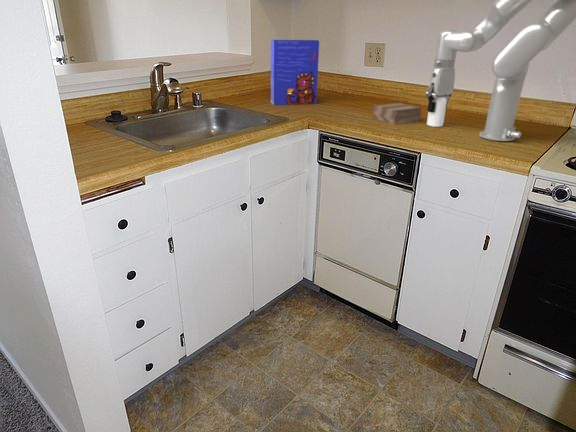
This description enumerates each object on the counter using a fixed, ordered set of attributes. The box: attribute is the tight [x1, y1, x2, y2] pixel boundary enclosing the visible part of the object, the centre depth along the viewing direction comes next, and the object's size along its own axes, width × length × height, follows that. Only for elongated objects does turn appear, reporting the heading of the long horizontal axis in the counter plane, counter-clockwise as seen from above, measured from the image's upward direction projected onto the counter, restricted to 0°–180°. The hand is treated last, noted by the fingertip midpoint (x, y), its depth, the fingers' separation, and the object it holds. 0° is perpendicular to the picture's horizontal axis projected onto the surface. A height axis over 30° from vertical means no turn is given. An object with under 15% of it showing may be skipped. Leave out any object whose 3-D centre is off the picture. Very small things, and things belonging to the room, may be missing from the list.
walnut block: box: [372, 102, 422, 126], centre depth 187 cm, size 14×14×6 cm
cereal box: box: [270, 39, 320, 106], centre depth 210 cm, size 22×6×30 cm, turn 105°
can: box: [426, 95, 448, 128], centre depth 177 cm, size 6×6×12 cm
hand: (436, 110), depth 177 cm, fingers closed on can, 6 cm apart
